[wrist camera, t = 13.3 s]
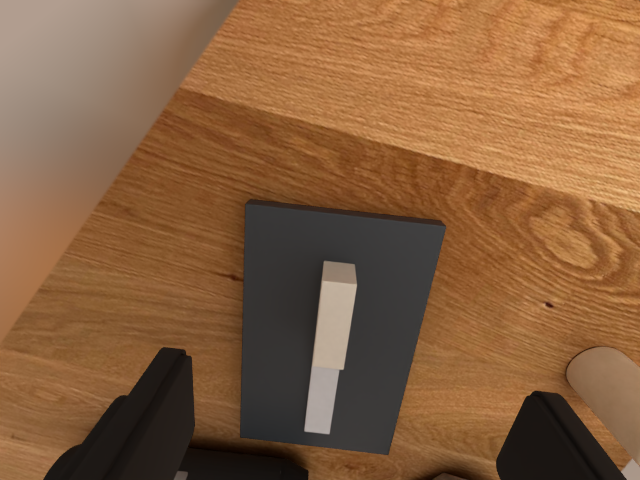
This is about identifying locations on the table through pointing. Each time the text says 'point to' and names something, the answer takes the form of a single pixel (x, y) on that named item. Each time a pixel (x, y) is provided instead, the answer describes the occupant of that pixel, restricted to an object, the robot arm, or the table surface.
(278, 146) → the table surface
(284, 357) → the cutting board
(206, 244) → the table surface
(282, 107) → the table surface
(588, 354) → the candle
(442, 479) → the potted plant
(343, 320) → the white stepped bar
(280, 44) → the table surface
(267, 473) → the portable speaker
